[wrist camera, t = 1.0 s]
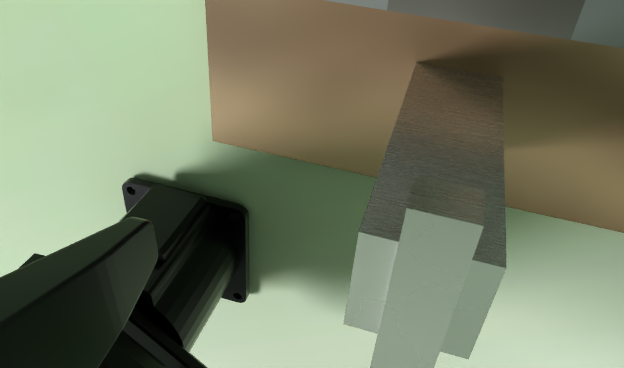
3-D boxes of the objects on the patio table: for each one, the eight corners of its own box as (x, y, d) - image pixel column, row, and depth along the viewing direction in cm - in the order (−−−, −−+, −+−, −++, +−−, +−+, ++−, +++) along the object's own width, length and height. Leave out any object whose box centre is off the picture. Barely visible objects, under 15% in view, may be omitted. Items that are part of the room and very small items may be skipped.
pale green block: (468, 186, 19) (448, 440, 11) (394, 170, 20) (326, 401, 12) (518, 28, 16) (538, 238, 8) (426, 14, 16) (357, 197, 8)
